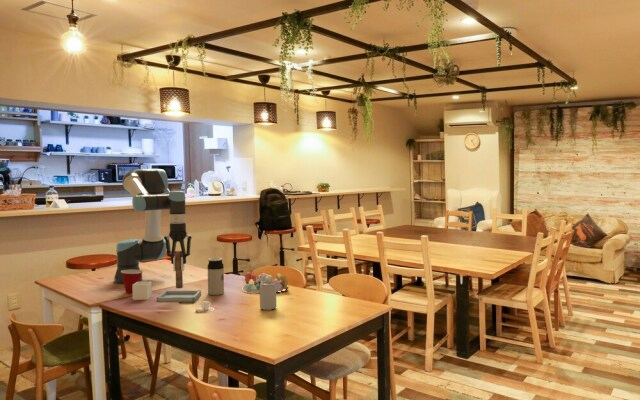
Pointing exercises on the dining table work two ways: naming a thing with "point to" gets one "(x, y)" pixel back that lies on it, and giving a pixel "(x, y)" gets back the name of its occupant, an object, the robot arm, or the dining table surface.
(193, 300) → the tray
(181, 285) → the dowel
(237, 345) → the dining table surface
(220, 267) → the travel mug
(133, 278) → the plastic cup
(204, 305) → the cream curved piece
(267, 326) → the dining table surface
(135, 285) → the square open box
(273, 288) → the can
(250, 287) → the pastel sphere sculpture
